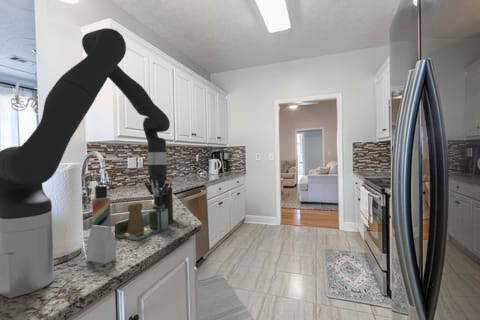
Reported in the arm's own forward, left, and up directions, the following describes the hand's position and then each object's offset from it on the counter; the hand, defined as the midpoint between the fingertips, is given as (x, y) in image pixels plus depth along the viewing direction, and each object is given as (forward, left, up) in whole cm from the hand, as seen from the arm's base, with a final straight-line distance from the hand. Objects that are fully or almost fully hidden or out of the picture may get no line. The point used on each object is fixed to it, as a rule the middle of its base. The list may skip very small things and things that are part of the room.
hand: (158, 205), depth 96 cm
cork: (-8, +4, -9) cm, 13 cm away
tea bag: (-28, -4, -10) cm, 30 cm away
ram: (0, 0, -8) cm, 8 cm away
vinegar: (+11, +7, -10) cm, 16 cm away
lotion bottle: (-16, +13, -10) cm, 23 cm away
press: (-5, +4, -10) cm, 12 cm away
